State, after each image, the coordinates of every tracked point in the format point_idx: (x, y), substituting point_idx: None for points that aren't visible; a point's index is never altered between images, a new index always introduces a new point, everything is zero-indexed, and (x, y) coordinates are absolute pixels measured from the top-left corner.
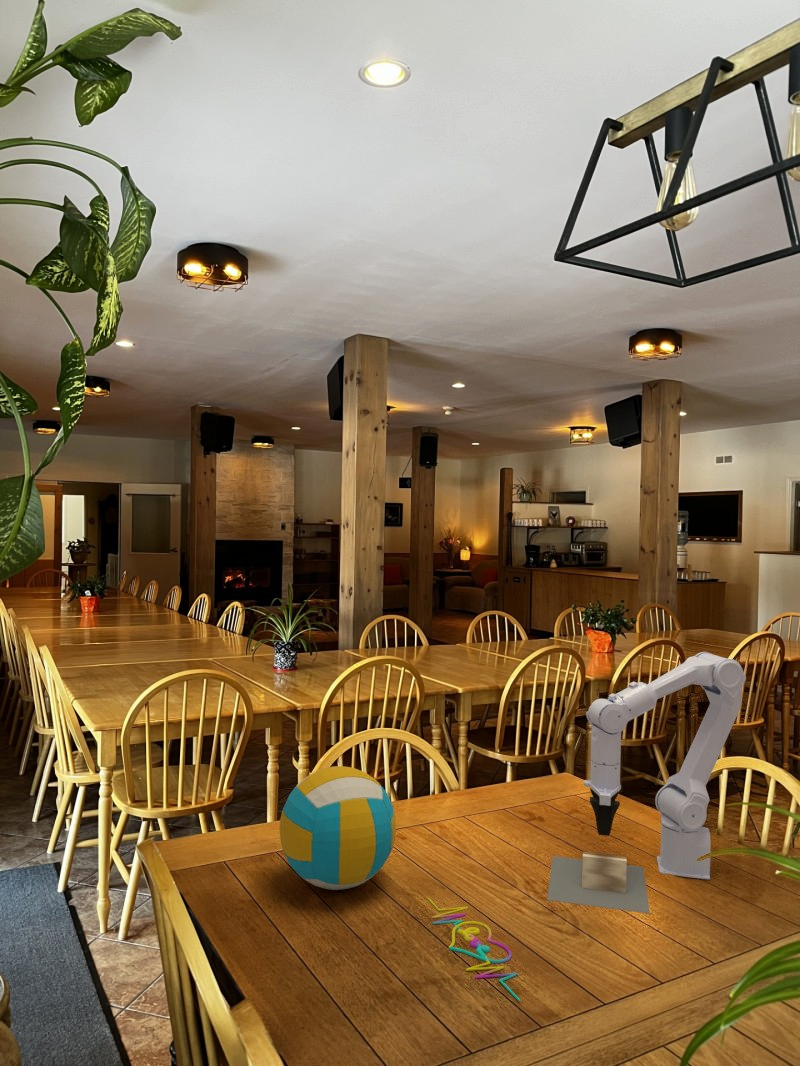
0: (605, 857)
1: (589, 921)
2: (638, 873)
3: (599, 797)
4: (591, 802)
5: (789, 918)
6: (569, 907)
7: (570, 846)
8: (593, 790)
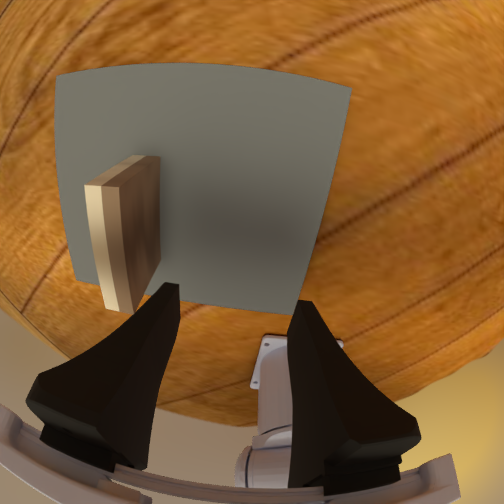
0: (103, 258)
1: (21, 171)
2: (252, 300)
3: (318, 424)
4: (31, 389)
5: (160, 408)
6: (50, 127)
7: (429, 165)
8: (78, 485)
